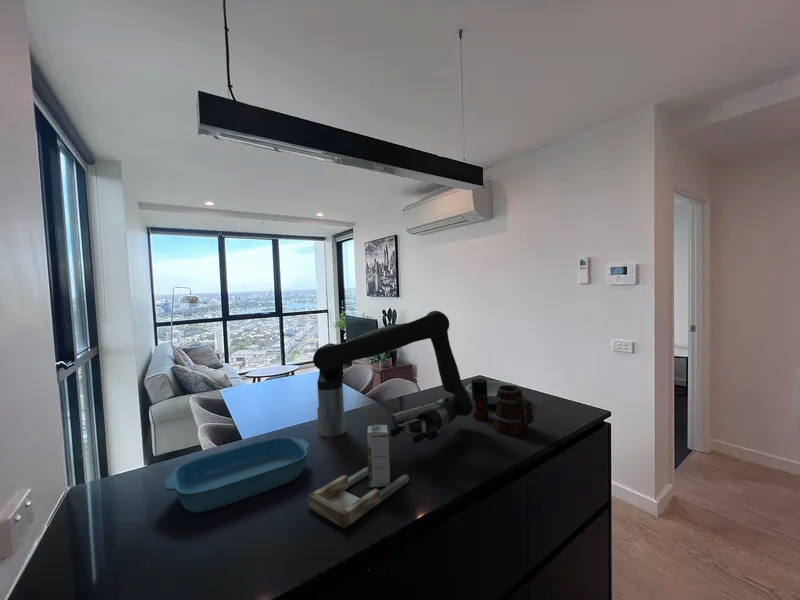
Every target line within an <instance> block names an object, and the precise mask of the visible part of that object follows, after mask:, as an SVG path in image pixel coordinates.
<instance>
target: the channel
mask: <svg viewBox="0 0 800 600" xmlns="http://www.w3.org/2000/svg"><path fill="white" fill-rule="evenodd" d="M367 476H368V477H369V471H368V465H367V466H366V467H363V469H361V470H359V471H357V472H355V473H354V474H352V475H350V476H349V477H348V488H350V487H351V486H353V485H355V484H357V483H358V482H360V481H362V480H363V479H364V478H366V477H367ZM408 482H410V476H409V475H408V474H405V473H404V474H403V475H401V476H400V477H398V478H397V479H395V480H393V481H392V482H390V484H389V485H388V486H384V488H382V489H381V490H380V503H381V502H383V501H384V500H386V499H387V498H388V497H389V496H391V495H392V494H393V493H395V492H396V491H398V490H400V489H401V488H402V487H403V486H404V485H406V484H407V483H408Z"/></svg>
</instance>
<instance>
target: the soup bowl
mask: <svg viewBox="0 0 800 600" xmlns="http://www.w3.org/2000/svg"><path fill="white" fill-rule="evenodd" d="M503 385H513V386H517V387H520V386H519V385H518V384H516V383H512V382H507V381H499V380H487V396H488V405H497V400H495V396H496V394H497V390H498V388H499V387H500V386H503ZM520 389H521V387H520ZM465 390H466V391H467V393H470V395H471V396H472V383H469V384H467V385H466V386H465ZM521 390H522V389H521Z"/></svg>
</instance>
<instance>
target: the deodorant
mask: <svg viewBox="0 0 800 600" xmlns="http://www.w3.org/2000/svg"><path fill="white" fill-rule="evenodd" d="M487 381H488V380H487V379H486V378H472V379H471V384H472V395H471V398H472V399H471V401H472V416H473V417H472V418H473V419H474V420H475V419H476V420H475V421H478V420H480V422H482V421H484V420H485V421H488V420H489V419H490V418H489V404H488V396H487ZM488 418H489V419H488ZM487 419H488V420H487Z"/></svg>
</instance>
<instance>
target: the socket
mask: <svg viewBox="0 0 800 600" xmlns="http://www.w3.org/2000/svg"><path fill="white" fill-rule="evenodd" d="M348 478H349V477H348V475H345V474H343V475H340V476H339V477H337V478H336V479H334V480H332V481H331V482H329V483H327V484H325V485H323V486H322V487H320V488H319V489H317V490H315V491H313V492H311V493H309V494H308V495H307V499H308V500H307V502H308V503H307V504H308V509H310V510H312V511H313V512H315V513H317V514H318V515H320V516H322V517H324V518H326V519H328V520H329V521H331V522H332V523H333V524H336V525H337V526H339V527H341V528H342V529H346V528H348V527H349V526H350V525H352V524H353V523H354V522H356V521H357V520H358V519H359V518H361V517H362V516H364V515H365V514H366V513H368V512H369V511H370V510H372V509H373V508H374V507H376V506H377V505H379V504H380V503H381V502H380V491H381V490H380V489H378V488H377V487H374V488H373V489H372V490H370V491H369V492H367V493H366V494H365V495H363V496H362V497H358V496H356V495H354V494H352V493H350V492H348V491H346V490H347V489H348V488H349V487H348Z"/></svg>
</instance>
